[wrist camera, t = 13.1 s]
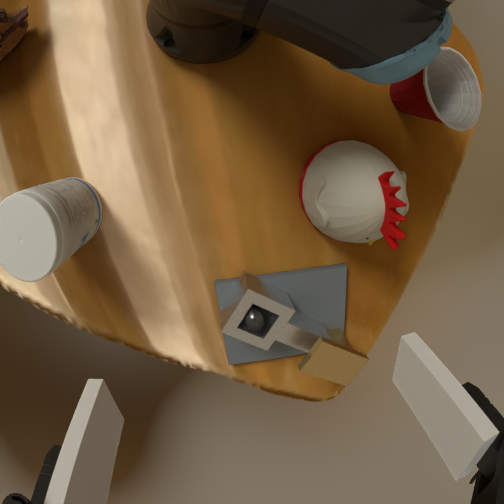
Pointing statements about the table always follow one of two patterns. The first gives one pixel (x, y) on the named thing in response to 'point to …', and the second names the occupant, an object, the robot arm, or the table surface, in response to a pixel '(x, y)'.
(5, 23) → the wooden carving
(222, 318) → the link
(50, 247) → the supplement tub
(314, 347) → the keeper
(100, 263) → the table surface
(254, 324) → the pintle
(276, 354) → the board
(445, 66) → the plastic cup
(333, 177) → the kitchen timer
